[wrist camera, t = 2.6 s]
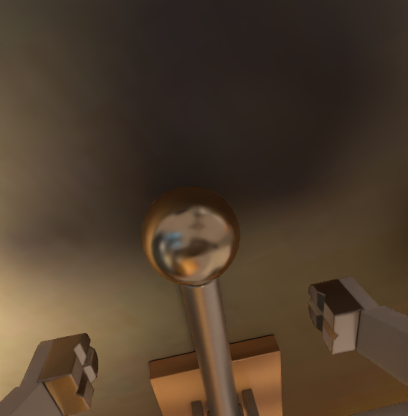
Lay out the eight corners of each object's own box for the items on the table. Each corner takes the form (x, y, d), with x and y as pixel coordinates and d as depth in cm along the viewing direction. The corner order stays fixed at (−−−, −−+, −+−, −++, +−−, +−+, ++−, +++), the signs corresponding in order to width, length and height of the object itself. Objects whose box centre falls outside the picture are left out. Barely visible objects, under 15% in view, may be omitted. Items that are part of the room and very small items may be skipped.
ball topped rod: (133, 181, 16) (123, 227, 12) (223, 164, 16) (248, 203, 12) (193, 403, 26) (201, 475, 21) (249, 390, 26) (268, 459, 21)
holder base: (150, 361, 23) (148, 414, 20) (273, 334, 24) (293, 381, 20) (173, 429, 28) (175, 482, 24) (276, 405, 28) (293, 453, 25)
